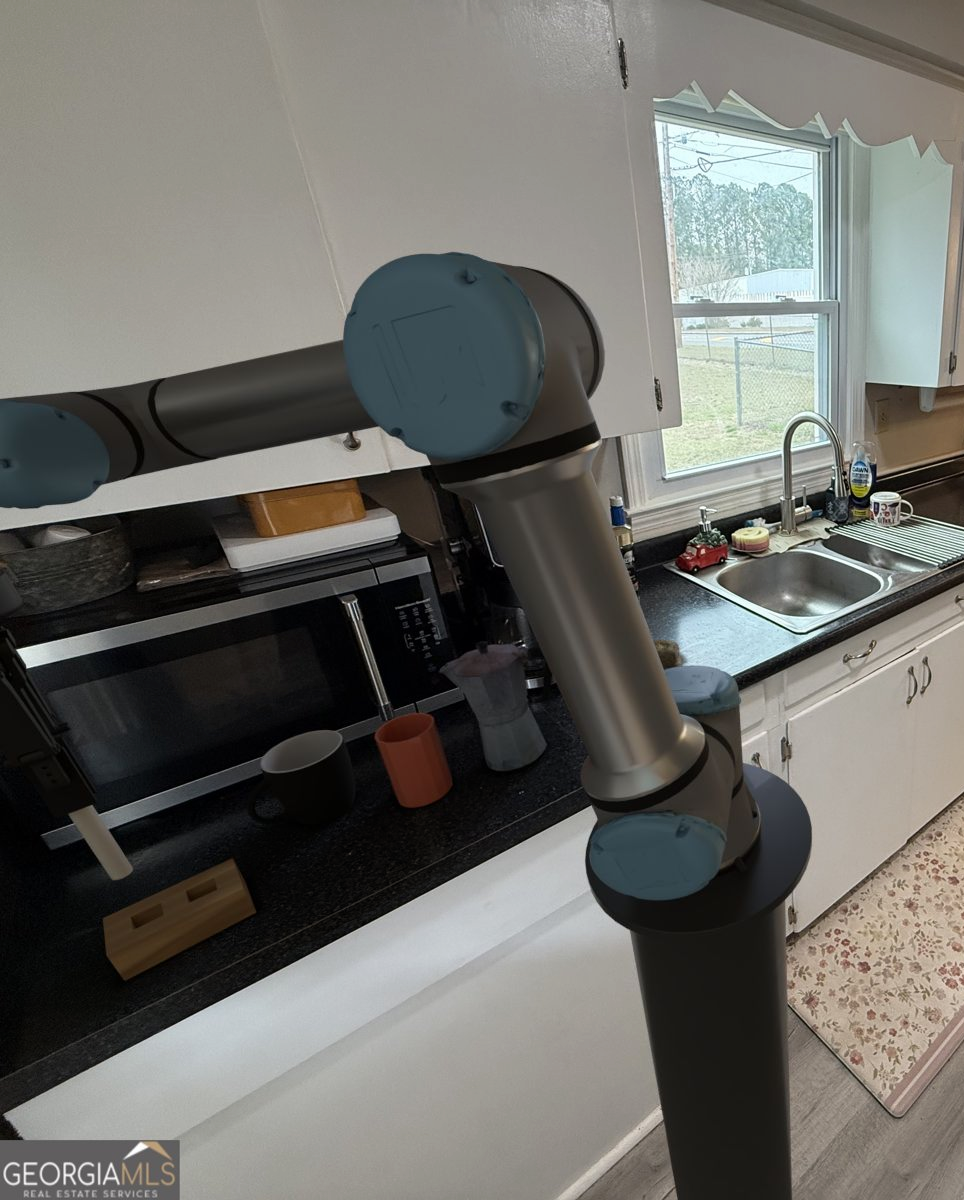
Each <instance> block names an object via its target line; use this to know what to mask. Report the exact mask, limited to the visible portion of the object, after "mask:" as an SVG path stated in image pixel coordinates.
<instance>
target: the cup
mask: <svg viewBox="0 0 964 1200" xmlns="http://www.w3.org/2000/svg"><path fill="white" fill-rule="evenodd" d="M436 724H437V723H436V721H435V718H434V716H432V715H431V714H428V713H424V712H412V713H408V714H404V715H400V716H397V717H395V718H393V719H390V720H388V721H387V722H384V723H383V724H382V725H380V727H379V728H378V729H377V730H376V731H375V733H374V736H373V737H374V740H375V744H376V746H377V749H378V752H379V754H380V755H379V756H380V757H381V760H382V763H383V766H384V769H385V771H386V774H387V777H388V779H389V783H390V786H391V788H392V791H393V793H394V796H395V799H396V800H397V802H398V804H399V805H400V806H402V807H404V808H420V807H424V806H428V805H430V804H432V803H434V802H437V801H438V800H440V799H441V798H443V797H444V796H445V795H447V794H448V792H449V791H451V789H452V786H453V777H452V773H451V770H450V766H449V763H448V760H447V757H446V754H445V750H444V746H443V744H442V740H441V738H440V734H439V731H438V727H437V725H436Z"/></svg>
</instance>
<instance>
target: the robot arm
mask: <svg viewBox="0 0 964 1200" xmlns="http://www.w3.org/2000/svg"><path fill="white" fill-rule="evenodd" d="M342 333H343V335H342V339H338V340H334V341H330V342H329V341H328V342H324V343H320V344H315V345H311V346H306V347H302V348H297V349H293V350H288V351H283V352H279V353H274V354H270V355H264V356H259V357H255V358H251V359H246V360H240V361H236V362H231V363H228V364H223V365H219V366H214V367H208V368H204V369H200V370H195V371H191V372H186V373H185V372H184V373H181V374H176V375H172V376H167V377H160V378H155V379H151V380H146V381H141V382H137V383H132V384H127V385H119V386H113V387H103V388H96V389H88V390H79V391H66V392H64V391H63V392H56V393H46V394H35V395H25V396H14V397H5V398H3V397H2V398H0V508H2V509H13V508H14V509H19V510H31V509H40V508H42V507H45V506H61V505H62V506H63V505H69V504H74V503H78V502H82V501H83V500H86V499H88V498H90V497H91V496H93V494H94V493H95V492H96V491H98V490H99V488H100V487H102V486H103V485H107V484H111V483H117V482H119V481H124V480H127V479H130V478H133V477H139V476H144V475H149V474H152V473H158V472H161V471H167V470H170V469H176V468H180V467H185V466H191V465H194V464H201V463H204V462H205V463H206V462H210V461H214V460H219V459H221V458H227V457H231V456H237V455H242V454H247V453H252V452H257V451H262V450H267V449H272V448H278V447H284V446H287V445H292V444H298V443H302V442H309V441H313V440H318V439H323V438H328V437H333V436H339V435H343V434H348V433H349V434H350V433H354V432H358V431H364V430H369V429H374V428H380V429H381V430H382V431H384V432H385V433H386V434H387V435H388V436H390V437H392V438H397V439H398V440H400V441H401V442H402V443H404V445H405V446H406V447H407V448H408V449H409V450H412V451H414V452H416V453H420V454H423V455H425V457H426V458H427V460H428V462H429V464H430V467H431V468H432V470H433V472H434V474H435V477H436V479H437V482H438V483H439V485H440V487H441V488H442V489H444V490H447V491H448V492H452V493H453V494H455V495H457V496H460V497H463V498H464V499H467V500H469V501H470V502H471V503H472V504H474V506H475V507H476V511H477V512H478V514H479V516H480V518H481V521H482V523H483V525H484V527H485V530H486V531H487V534H488V536H489V538H490V541H491V543H492V546H493V547H494V550H495V551H496V553H497V556H498V558H499V560H500V562H501V564H502V567H503V569H504V571H505V573H506V576H507V578H508V580H509V582H510V584H511V587H512V589H513V591H514V593H515V595H516V599H517V600H518V602H519V605H520V606H521V609H522V611H523V613H524V616H525V618H526V619H527V623H528V624H529V626H530V628H531V630H532V633H533V636H534V638H535V640H536V641H537V644H538V647H539V648H540V649H541V650H542V653H543V655H544V657H545V659H546V661H547V664H548V666H549V668H550V670H551V672H552V678H553V679H554V681H555V683H556V685H557V688H558V690H559V693H560V694H561V696H562V699H563V701H564V703H565V706H566V707H567V710H568V712H569V714H570V717H571V719H572V721H573V723H574V725H575V727H576V730H577V733H578V734H579V736H580V739H581V741H582V743H583V745H584V748H585V749H586V752H587V753H588V755H587V756H586V758H585V760H584V761H583V764H582V766H581V769H580V776H579V777H580V783H581V786H582V789H583V790H584V792H585V795H586V797H587V799H588V801H589V803H590V806H591V807H592V810H593V812H594V814H595V816H596V819H597V820H598V828H597V830H596V831H595V832H594V834H593V836H592V838H591V840H590V843H591V847H590V853H589V858H590V863H591V866H592V868H593V870H594V872H595V874H596V875H597V876H598V877H599V878H600V880H602V881H603V882H604V883H605V884H606V885H608V886H609V887H611V888H612V889H614V890H616V891H618V892H620V893H622V894H625V895H631V896H634V897H636V898H640V899H646V900H670V899H676V898H681V897H684V896H688V895H690V894H693V893H695V892H697V891H699V890H700V889H702V888H703V887H705V886H706V885H707V884H708V883H709V881H710V880H711V879H713V878H716V877H719V876H722V875H724V874H727V873H729V872H731V871H732V870H734V869H736V868H738V870H739V871H740V873H741V874H744V873H745V872H746V871H747V870H748V869H747V867H746V866H745V864H744V862H745V861H746V860H747V859H748V858H749V857H750V855H751V854H752V853H753V851H754V850H755V848H756V846H757V844H758V841H759V838H760V833H761V824H760V812H759V808H758V806H757V804H756V802H755V800H754V798H753V796H752V794H751V792H750V790H749V788H748V786H747V784H746V782H745V780H744V776H743V763H744V760H743V759H744V758H743V743H742V742H743V741H742V726H741V711H740V710H741V707H740V705H741V703H742V698H741V696H740V692H739V685H738V683H737V681H736V679H735V678H734V676H732V675H731V674H729V673H728V672H727V671H724V670H721V669H719V668H716V667H712V666H707V665H706V666H705V665H683V666H682V665H681V666H680V667H673V668H669V669H666V670H664V669H663V666H662V664H661V661H660V658H659V655H658V653H657V650H656V647H655V644H654V642H653V640H654V639H653V636H652V634H651V631H650V628H649V625H648V623H647V619H646V618H645V615H644V612H643V608H642V605H641V603H640V601H639V597H638V595H637V592H636V590H635V588H634V584H633V581H632V579H631V576H630V573H629V570H628V567H627V565H626V562H625V560H624V557H623V554H622V551H621V549H620V546H619V543H618V541H617V537H616V535H615V531H614V529H613V526H612V524H611V521H610V519H609V516H608V513H607V510H606V507H605V505H604V502H603V499H602V496H601V494H600V491H599V489H598V486H597V482H596V480H595V477H594V474H593V472H592V468H593V462H594V460H595V458H596V457H597V454H598V452H599V450H600V448H601V446H602V444H603V439H602V435H601V433H600V429H599V427H598V424H597V421H596V418H595V415H594V413H593V410H592V406H591V404H590V401H589V400H590V399H591V398H592V397H593V396H594V394H595V392H596V390H597V389H598V387H599V385H600V382H601V380H602V377H603V373H604V370H605V369H604V368H605V361H606V360H605V359H606V350H605V343H604V337H603V335H602V331H601V328H600V324H599V322H598V320H597V318H596V317H595V315H594V313H593V312H592V310H591V308H590V306H589V305H588V304H587V303H586V301H585V300H584V299H583V298H582V296H580V295H579V294H578V292H577V291H575V290H574V288H572V287H571V286H570V285H568V284H567V283H565V282H564V281H562V280H560V279H558V278H557V277H555V276H554V275H552V274H551V273H547V272H544V271H542V270H540V269H535V268H531V267H526V266H522V265H521V266H519V265H512V264H507V263H501V262H496V261H490V260H487V259H483V258H482V257H479V256H477V255H474V254H471V253H464V252H458V251H450V252H444V253H416V254H415V253H414V254H409V255H404V256H401V257H398V258H395V259H393V260H390V261H389V262H387V263H385V264H383V265H381V266H380V267H378V268H377V269H376V270H374V271H373V272H372V273H370V274H369V275H368V276H367V278H365V280H364V281H363V282H362V283H361V284H360V286H359V287H358V289H357V291H356V292H355V294H354V298H353V300H352V304H351V306H350V310H349V311H348V313H347V314H346V317H345V320H344V325H343V332H342ZM22 607H23V599H22V598H21V596H20V594H19V592H18V591H17V589H16V587H15V586H14V584H13V582H12V581H11V579H10V577H9V575H8V574H7V573H6V571H5V569H2V568H0V620H2V619H5V618H7V617H9V616H11V615H14V614H15V613H17V612H18V611H19V610H20V609H21V608H22ZM47 703H48V702H47V701H46V700H45V698H44V697H43V695H42V693H41V691H40V690H39V688H38V685H36V682H34V679H33V678H32V676H31V675H30V673H29V671H28V669H27V664H26V663H25V661H24V660H23V658H22V656H21V655H20V653H19V651H18V650H17V648H16V639H15V638H14V636H13V634H12V633H11V631H10V630H9V629H8V628H4V626H2V625H1V626H0V751H1V753H2V754H3V755H4V757H5V758H6V759H5V760H4V761H3V765H2V767H3V768H4V769H5V770H10V769H17V768H19V767H20V768H21V770H22V771H23V773H24V774H25V775H26V777H27V778H28V780H29V781H30V783H31V785H32V786H33V787H34V788H35V790H36V792H37V793H38V794H39V796H40V798H41V799H42V801H43V802H44V803H45V805H46V806H47V808H48V809H49V811H50V812H51V814H52V815H53V816H54V818H55V819H59V818H61V817H64V816H67V815H68V814H70V813H72V812H75V811H78V810H80V809H83V808H86V807H88V806H91V805H93V806H94V805H96V804H98V799H97V797H96V795H95V794H96V793H97V789H96V787H95V785H94V784H93V782H92V781H91V779H90V777H89V776H88V774H87V772H86V771H85V769H84V767H83V766H82V765H81V763H80V761H79V760H78V758H77V756H76V755H75V753H74V752H73V750H72V748H71V747H70V746H69V743H67V741H66V739H65V738H64V736H63V735H61V734H64V733H67V732H70V731H72V729H71V726H70V724H69V722H68V721H66V722H62V723H60V724H56V723H55V722H56V720H57V719H56V718H57V716H56V713H55V712H52V710H51V709H50V706H49V705H48V704H47ZM57 735H61V736H58V737H55V736H57ZM597 820H596V821H597Z"/></svg>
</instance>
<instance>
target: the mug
mask: <svg viewBox="0 0 964 1200" xmlns="http://www.w3.org/2000/svg"><path fill="white" fill-rule="evenodd" d="M260 759H261V760H260V762H259V768H260V770H261V773H262V775H263V779H262V781H261V782H260V783H258V784H257V785H256V786H255V787H254V789H253V790H252V791H251V792H250V795H249V796H248V798H247V801H246V811H247V814H248V816H249V817H250V818H251V819H252V820H253V821H254V822H256V823H259V824H263V825H273V824H279V823H282V822H285V821H288V820H295V821H297V822H298V823H300V824H302V825H308V826H314V825H320V824H324V823H326V822H330V821H332V820H334V819H336V818H338V817H340V816H341V815H343V814H344V813H346V812H347V811H348V810H349V809H350V808H351V807H352V805H353V803H354V802H355V798H356V780H355V775H354V774H355V773H354V770H353V765H352V761H351V757H350V754H349V750H348V747H347V744H346V741H345V739H344V737H343V736H342V734H341V733H340V732H337V731H335V730H330V729H329V730H328V729H323V730H322V729H321V730H314V731H313V730H312V731H308V732H304V733H302V734H298V735H294V736H292V737H290V738H288V739H285V740H284V741H282V742H280V743H278V744H277V745H274V746H273V747H272V748H270V749H269V750H268V751H266V752H265V754H264V755H263V756H262V758H260ZM267 789H270V790H271V791H272V793H273V794H274V796H275V798H277V800H278V802H279V803H280V804H281V805H282V807H283V809H284V811H283V812H282V813H281V814H278V815H276V816H273V817H272V816H271V817H263V816H261V815H259V814H258V813H257V811H256V803H257V800H258V798H259V796H260V795H261V794H262V793H263V792H264V791H265V790H267Z"/></svg>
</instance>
